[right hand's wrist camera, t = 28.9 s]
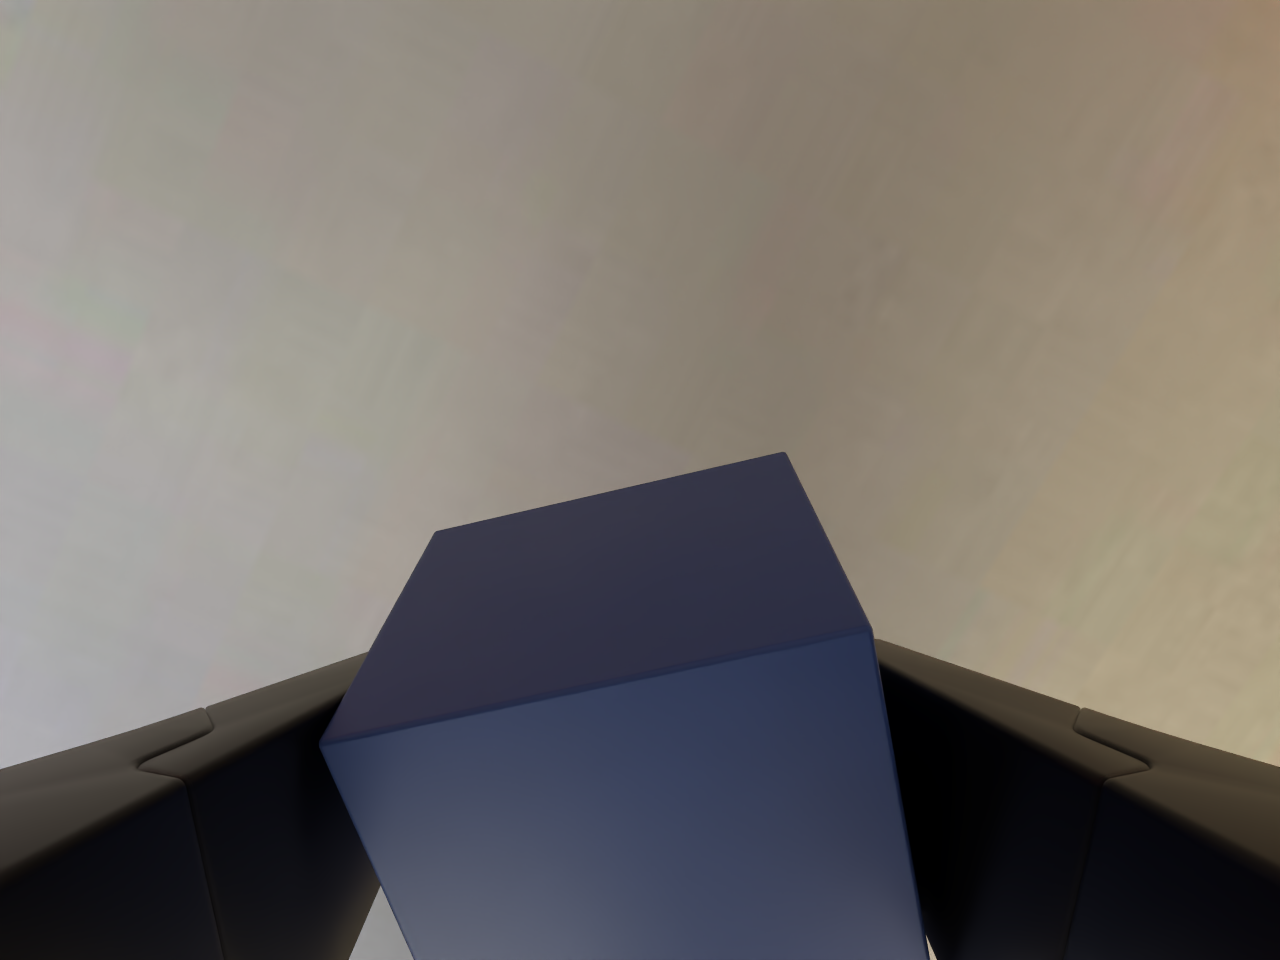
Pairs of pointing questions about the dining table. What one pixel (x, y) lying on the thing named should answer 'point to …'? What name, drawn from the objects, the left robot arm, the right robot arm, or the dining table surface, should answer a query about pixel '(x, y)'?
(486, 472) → the dining table surface
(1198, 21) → the dining table surface
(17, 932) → the right robot arm
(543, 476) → the dining table surface
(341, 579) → the dining table surface
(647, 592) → the brick
